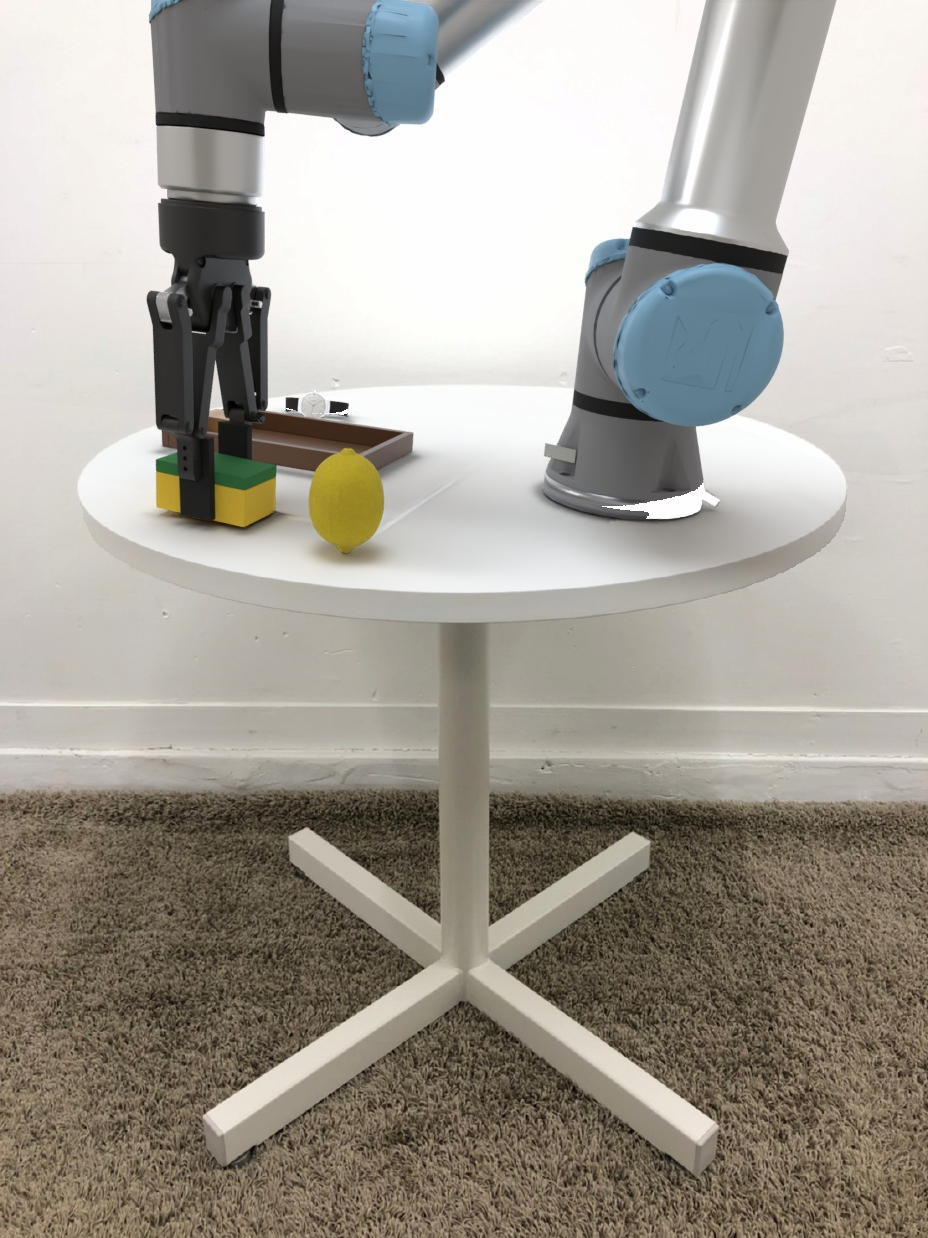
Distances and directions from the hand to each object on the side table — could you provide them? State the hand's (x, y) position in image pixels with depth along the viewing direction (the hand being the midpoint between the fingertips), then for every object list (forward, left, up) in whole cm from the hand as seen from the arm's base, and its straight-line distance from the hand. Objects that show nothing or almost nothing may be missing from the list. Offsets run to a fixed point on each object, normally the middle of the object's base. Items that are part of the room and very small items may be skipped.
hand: (217, 507), depth 79 cm
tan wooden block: (+13, -22, 0) cm, 26 cm away
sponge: (0, 0, 0) cm, 0 cm away
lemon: (-13, +3, -1) cm, 13 cm away
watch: (+11, -40, -1) cm, 41 cm away
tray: (+5, -22, -1) cm, 23 cm away
